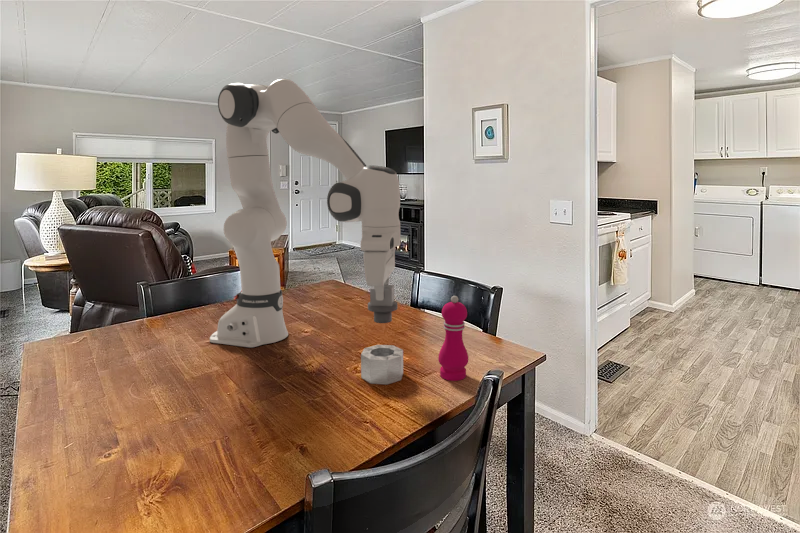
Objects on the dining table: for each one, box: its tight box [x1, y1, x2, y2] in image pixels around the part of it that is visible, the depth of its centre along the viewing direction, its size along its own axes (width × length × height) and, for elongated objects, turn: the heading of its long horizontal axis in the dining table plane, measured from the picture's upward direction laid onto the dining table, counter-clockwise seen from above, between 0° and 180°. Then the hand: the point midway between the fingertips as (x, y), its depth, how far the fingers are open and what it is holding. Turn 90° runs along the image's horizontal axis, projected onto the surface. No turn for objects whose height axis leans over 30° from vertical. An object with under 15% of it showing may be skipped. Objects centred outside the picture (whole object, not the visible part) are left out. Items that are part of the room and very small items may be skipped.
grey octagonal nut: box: [360, 344, 404, 385], centre depth 112 cm, size 10×10×6 cm
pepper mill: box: [437, 295, 469, 382], centre depth 111 cm, size 7×7×20 cm
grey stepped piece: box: [367, 284, 398, 324], centre depth 109 cm, size 7×7×8 cm
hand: (382, 296), depth 109 cm, fingers closed on grey stepped piece, 4 cm apart
